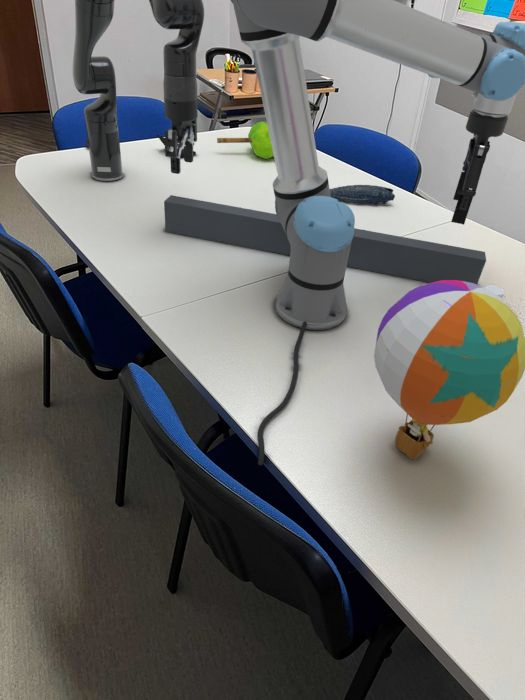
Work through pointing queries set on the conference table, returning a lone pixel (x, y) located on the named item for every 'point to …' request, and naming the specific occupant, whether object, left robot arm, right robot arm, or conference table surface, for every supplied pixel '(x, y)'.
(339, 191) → the fish model
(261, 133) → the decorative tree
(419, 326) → the toy
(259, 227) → the bar
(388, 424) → the conference table surface
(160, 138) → the handheld gaming console
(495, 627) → the conference table surface
